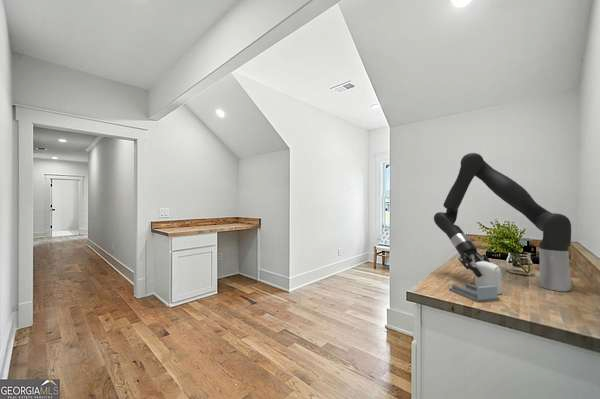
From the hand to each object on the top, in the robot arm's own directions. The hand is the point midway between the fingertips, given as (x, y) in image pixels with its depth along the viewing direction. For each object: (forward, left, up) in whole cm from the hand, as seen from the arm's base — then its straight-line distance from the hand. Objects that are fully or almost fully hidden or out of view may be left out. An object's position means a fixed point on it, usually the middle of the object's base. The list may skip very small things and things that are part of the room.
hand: (486, 276), depth 110 cm
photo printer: (0, +1, -6) cm, 6 cm away
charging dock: (+11, +4, -6) cm, 13 cm away
